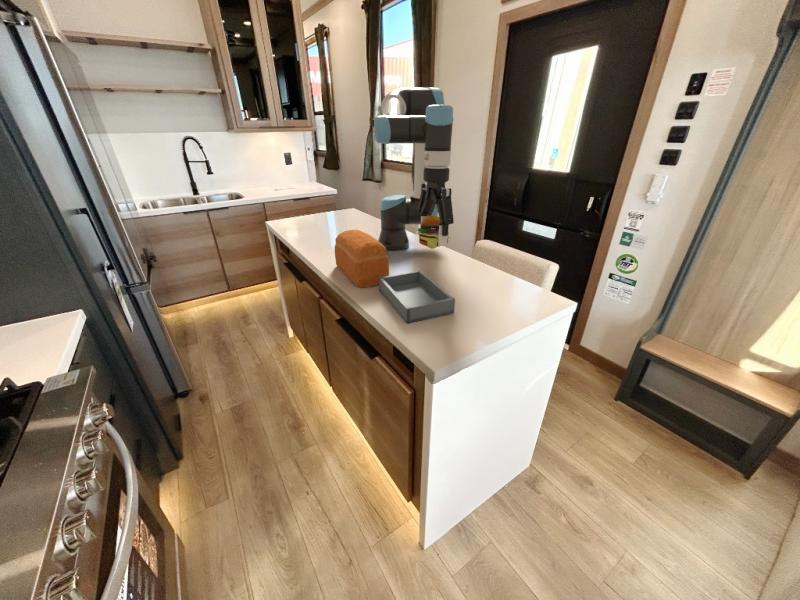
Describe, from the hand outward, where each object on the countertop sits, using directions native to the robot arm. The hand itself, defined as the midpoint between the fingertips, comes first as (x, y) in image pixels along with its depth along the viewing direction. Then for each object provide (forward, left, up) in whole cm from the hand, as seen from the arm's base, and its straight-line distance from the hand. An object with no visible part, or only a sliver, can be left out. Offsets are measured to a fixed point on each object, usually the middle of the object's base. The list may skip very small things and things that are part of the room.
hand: (433, 240), depth 103 cm
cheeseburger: (0, 0, -1) cm, 1 cm away
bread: (-25, -18, -19) cm, 36 cm away
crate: (+4, -8, -19) cm, 21 cm away
